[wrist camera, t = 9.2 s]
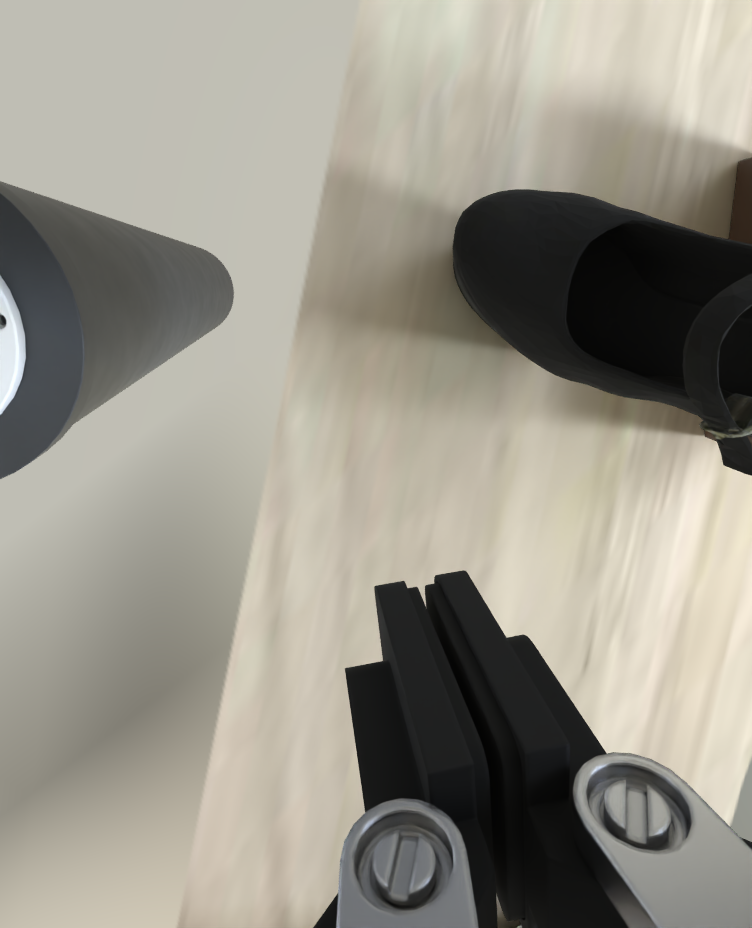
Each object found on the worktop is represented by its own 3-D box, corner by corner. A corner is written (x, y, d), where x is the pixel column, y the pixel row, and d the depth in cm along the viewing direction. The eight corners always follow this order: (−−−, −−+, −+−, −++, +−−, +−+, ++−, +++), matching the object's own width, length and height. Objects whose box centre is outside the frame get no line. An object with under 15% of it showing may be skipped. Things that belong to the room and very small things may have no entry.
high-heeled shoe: (442, 176, 28) (737, -19, 10) (721, 314, 33) (1280, 361, 14) (385, 323, 30) (539, 396, 12) (656, 434, 35) (1076, 611, 16)
